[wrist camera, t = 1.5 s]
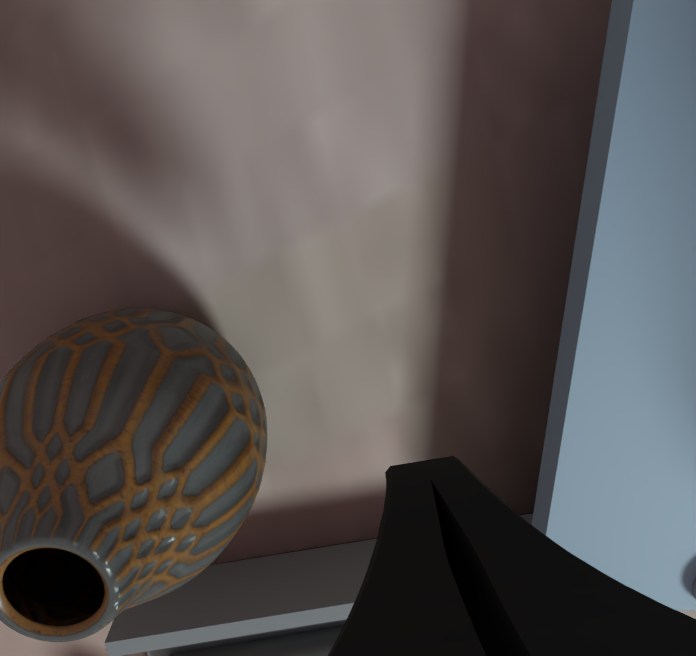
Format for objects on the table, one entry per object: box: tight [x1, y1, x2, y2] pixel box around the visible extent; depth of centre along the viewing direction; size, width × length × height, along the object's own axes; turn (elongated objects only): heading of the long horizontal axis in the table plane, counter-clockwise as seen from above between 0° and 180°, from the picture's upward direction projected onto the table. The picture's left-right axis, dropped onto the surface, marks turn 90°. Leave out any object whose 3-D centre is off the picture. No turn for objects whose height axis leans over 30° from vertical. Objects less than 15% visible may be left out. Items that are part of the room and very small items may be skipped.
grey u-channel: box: [105, 514, 533, 656], centre depth 20 cm, size 20×6×4 cm, turn 98°
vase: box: [0, 308, 267, 642], centre depth 15 cm, size 7×7×9 cm
